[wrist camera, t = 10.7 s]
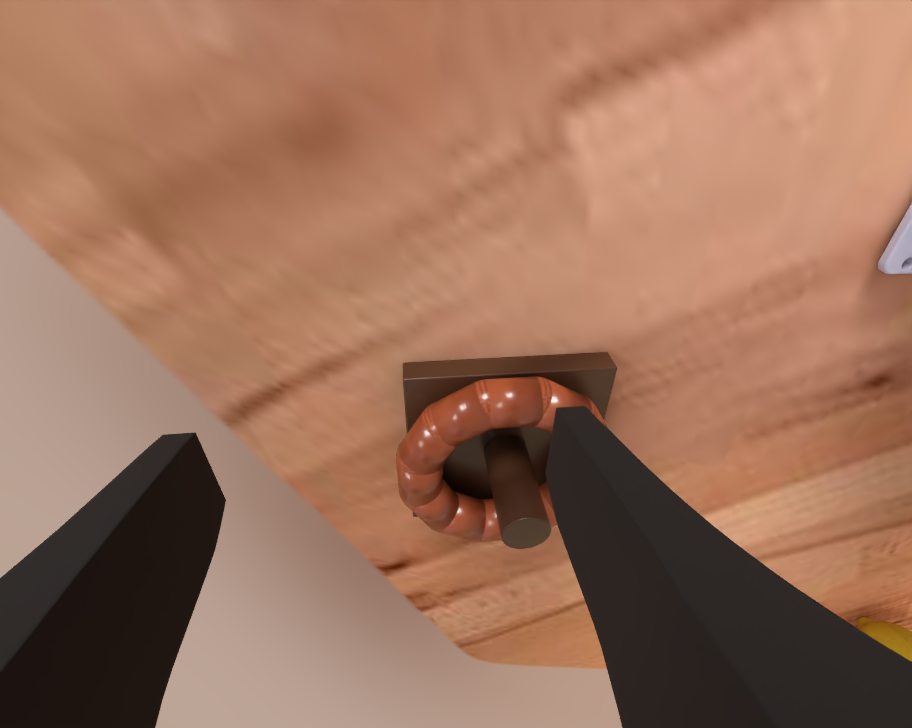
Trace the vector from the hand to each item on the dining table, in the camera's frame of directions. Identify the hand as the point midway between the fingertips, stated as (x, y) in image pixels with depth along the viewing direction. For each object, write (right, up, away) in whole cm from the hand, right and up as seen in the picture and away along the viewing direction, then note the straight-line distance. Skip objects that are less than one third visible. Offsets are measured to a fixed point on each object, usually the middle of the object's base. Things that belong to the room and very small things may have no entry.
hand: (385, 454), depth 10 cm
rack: (+4, -1, +13) cm, 14 cm away
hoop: (+4, -3, +11) cm, 12 cm away
